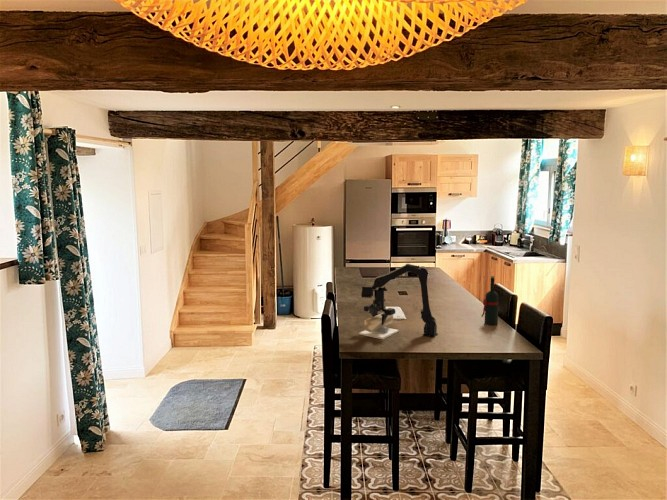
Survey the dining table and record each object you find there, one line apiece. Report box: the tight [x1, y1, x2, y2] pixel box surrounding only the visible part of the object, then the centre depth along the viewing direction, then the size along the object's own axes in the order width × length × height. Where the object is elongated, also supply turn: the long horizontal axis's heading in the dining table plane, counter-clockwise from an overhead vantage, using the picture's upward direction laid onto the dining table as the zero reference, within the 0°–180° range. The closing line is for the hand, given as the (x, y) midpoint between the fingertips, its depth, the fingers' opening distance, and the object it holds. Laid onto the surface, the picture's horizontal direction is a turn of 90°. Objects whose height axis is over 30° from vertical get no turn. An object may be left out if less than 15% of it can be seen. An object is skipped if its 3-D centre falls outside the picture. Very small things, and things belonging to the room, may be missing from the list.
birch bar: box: [364, 312, 394, 332], centre depth 299 cm, size 4×24×6 cm, turn 143°
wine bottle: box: [481, 275, 499, 326], centre depth 315 cm, size 8×10×30 cm
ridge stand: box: [358, 326, 400, 340], centre depth 300 cm, size 16×18×4 cm
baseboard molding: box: [384, 306, 409, 321], centre depth 343 cm, size 31×3×12 cm
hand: (379, 324), depth 299 cm, fingers closed on birch bar, 4 cm apart
